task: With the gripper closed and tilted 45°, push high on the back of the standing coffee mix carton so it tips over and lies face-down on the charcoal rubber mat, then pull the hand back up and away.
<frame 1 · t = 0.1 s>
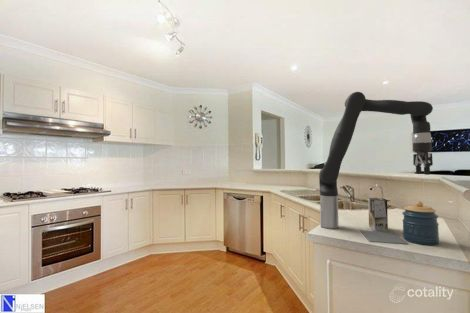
hand: (422, 174, 121), 29 cm above the worktop, tool pointing down, fingers open, 8 cm apart
coffee box: (378, 229, 126), on the worktop
charcoal mat: (382, 237, 113), on the worktop
canister: (420, 241, 108), on the worktop
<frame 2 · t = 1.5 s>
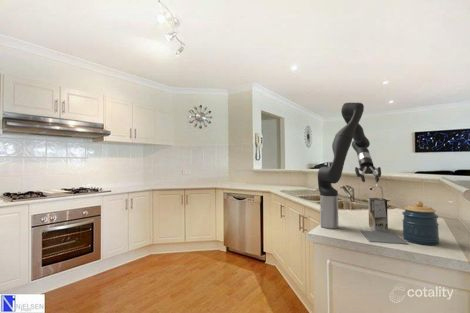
hand: (370, 181, 138), 24 cm above the worktop, tool tilted 45°, fingers open, 6 cm apart
nothing on the worktop moved.
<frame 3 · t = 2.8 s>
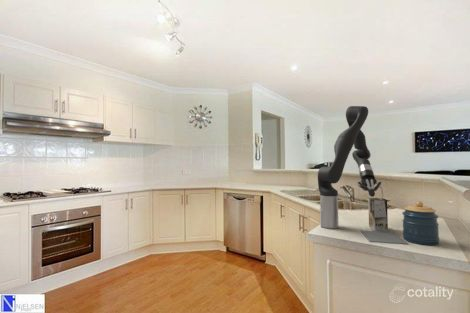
hand: (372, 195, 135), 16 cm above the worktop, tool tilted 45°, fingers closed
nothing on the worktop moved.
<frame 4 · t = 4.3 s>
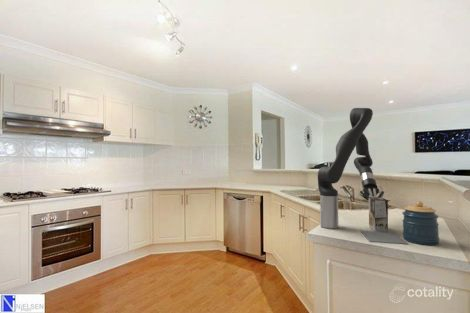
hand: (375, 205, 130), 12 cm above the worktop, tool tilted 45°, fingers closed
coffee box: (378, 229, 126), on the worktop, touching gripper
everything else where it was.
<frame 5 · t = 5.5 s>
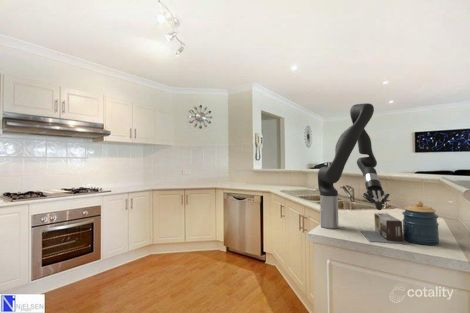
hand: (379, 209, 122), 11 cm above the worktop, tool tilted 45°, fingers closed
coffee box: (381, 221, 122), point 5 cm above the worktop, touching charcoal mat
everything else where it was.
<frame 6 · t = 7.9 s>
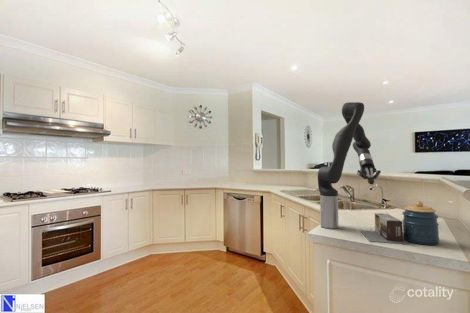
hand: (371, 183, 137), 23 cm above the worktop, tool tilted 45°, fingers closed
nothing on the worktop moved.
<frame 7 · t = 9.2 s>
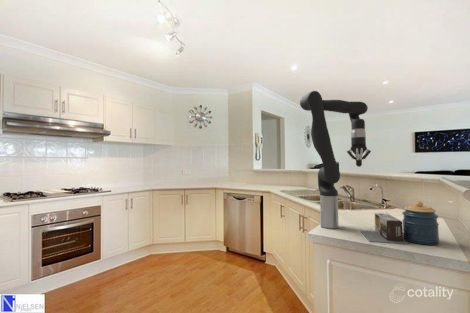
hand: (359, 166, 140), 33 cm above the worktop, tool pointing down, fingers closed
nothing on the worktop moved.
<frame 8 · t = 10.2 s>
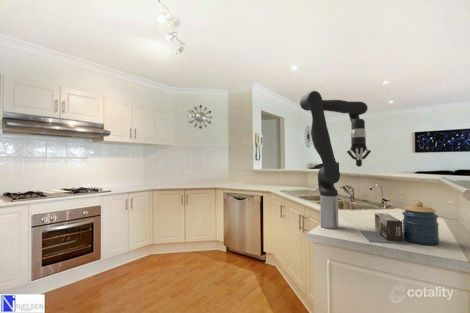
hand: (359, 166, 140), 33 cm above the worktop, tool pointing down, fingers closed
nothing on the worktop moved.
at the end: coffee box tilted 91°; coffee box touching charcoal mat; canister moved 0.2 cm from its start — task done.
